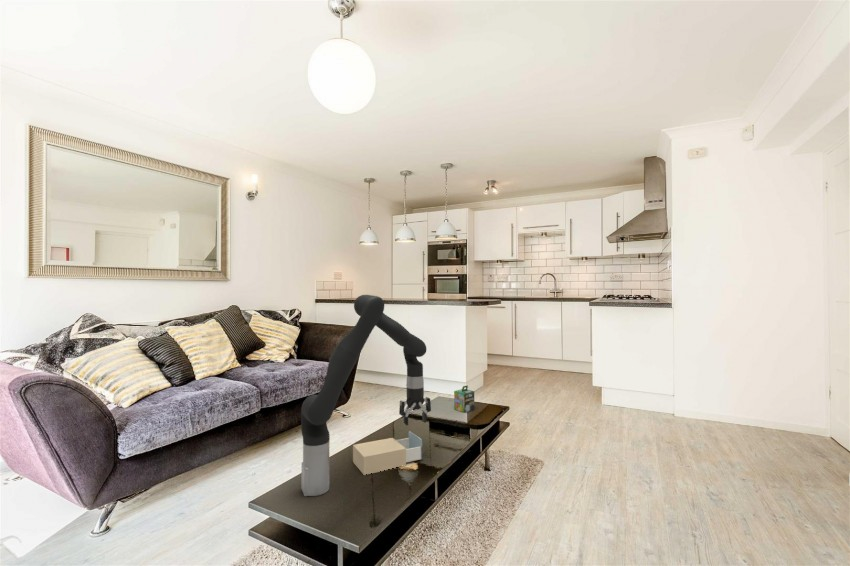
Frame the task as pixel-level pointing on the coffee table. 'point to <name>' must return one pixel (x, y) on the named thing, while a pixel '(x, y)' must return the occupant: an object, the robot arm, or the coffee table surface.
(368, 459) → the sleeve
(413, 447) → the inner tray
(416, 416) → the coffee table surface
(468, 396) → the chalk box
